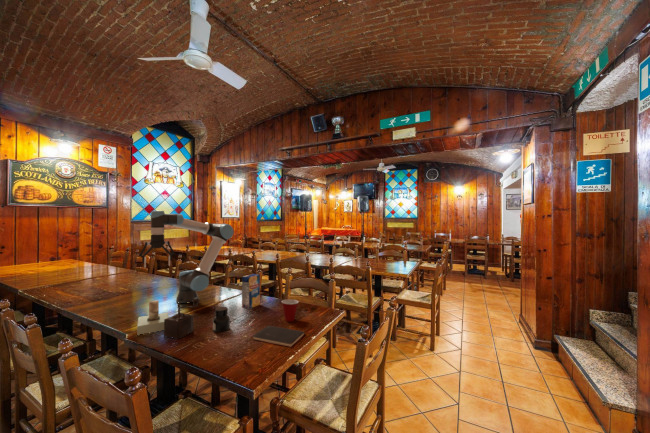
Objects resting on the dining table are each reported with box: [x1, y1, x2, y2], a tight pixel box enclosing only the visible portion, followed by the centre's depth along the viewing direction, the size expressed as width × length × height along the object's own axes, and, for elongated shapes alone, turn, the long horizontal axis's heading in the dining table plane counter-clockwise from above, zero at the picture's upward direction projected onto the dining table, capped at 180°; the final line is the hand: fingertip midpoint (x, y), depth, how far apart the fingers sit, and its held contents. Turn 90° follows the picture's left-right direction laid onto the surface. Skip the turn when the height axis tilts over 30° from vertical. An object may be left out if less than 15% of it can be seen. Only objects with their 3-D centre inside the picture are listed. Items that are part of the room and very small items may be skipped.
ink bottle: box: [212, 306, 231, 333], centre depth 157 cm, size 10×9×12 cm
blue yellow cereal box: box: [241, 273, 261, 310], centre depth 199 cm, size 7×11×22 cm, turn 152°
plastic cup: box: [281, 298, 300, 322], centre depth 173 cm, size 11×11×12 cm
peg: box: [148, 300, 160, 321], centre depth 159 cm, size 5×5×15 cm
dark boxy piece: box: [163, 297, 201, 339], centre depth 153 cm, size 16×11×18 cm
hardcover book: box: [252, 325, 306, 348], centre depth 148 cm, size 16×23×2 cm
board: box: [136, 312, 170, 336], centre depth 159 cm, size 15×16×5 cm
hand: (157, 266), depth 180 cm, fingers open, 13 cm apart
